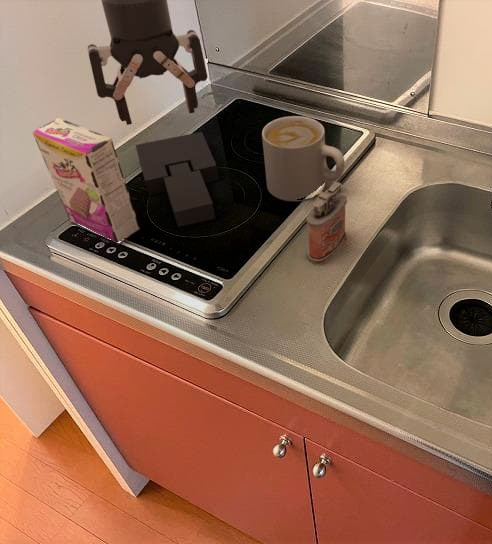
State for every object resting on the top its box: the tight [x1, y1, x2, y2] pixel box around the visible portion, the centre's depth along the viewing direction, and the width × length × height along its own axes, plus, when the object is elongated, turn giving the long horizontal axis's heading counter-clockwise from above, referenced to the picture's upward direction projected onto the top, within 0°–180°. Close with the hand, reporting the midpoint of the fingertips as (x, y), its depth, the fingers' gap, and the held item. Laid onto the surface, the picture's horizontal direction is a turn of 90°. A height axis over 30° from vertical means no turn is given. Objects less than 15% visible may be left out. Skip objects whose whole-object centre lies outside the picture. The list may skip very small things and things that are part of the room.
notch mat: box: [135, 131, 220, 196], centre depth 100 cm, size 12×12×3 cm
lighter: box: [306, 181, 348, 266], centre depth 82 cm, size 8×3×10 cm, turn 147°
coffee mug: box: [261, 115, 346, 202], centre depth 93 cm, size 13×10×10 cm
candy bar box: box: [32, 117, 141, 246], centre depth 84 cm, size 11×5×16 cm, turn 58°
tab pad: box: [164, 162, 216, 228], centre depth 93 cm, size 6×13×3 cm, turn 21°
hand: (160, 116), depth 79 cm, fingers open, 8 cm apart
